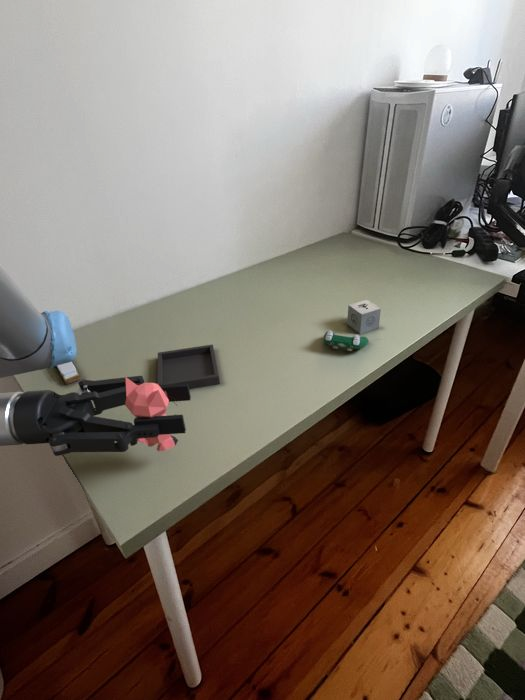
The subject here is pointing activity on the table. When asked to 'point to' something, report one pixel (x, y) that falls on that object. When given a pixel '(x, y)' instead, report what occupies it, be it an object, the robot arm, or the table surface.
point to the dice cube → (363, 316)
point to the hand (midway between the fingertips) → (186, 407)
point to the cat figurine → (149, 409)
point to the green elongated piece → (345, 341)
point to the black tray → (188, 367)
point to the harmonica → (68, 372)
